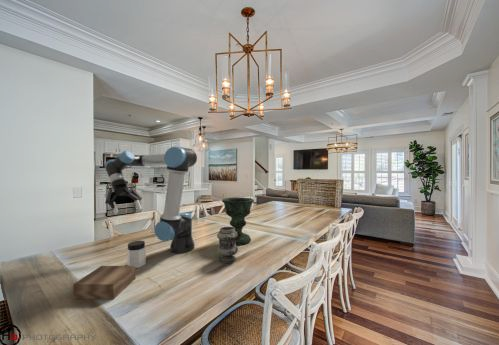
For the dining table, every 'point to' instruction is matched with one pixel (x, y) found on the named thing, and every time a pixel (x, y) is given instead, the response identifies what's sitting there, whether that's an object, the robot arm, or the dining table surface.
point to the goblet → (238, 216)
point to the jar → (136, 254)
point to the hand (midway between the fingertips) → (129, 211)
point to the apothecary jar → (227, 244)
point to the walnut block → (104, 282)
